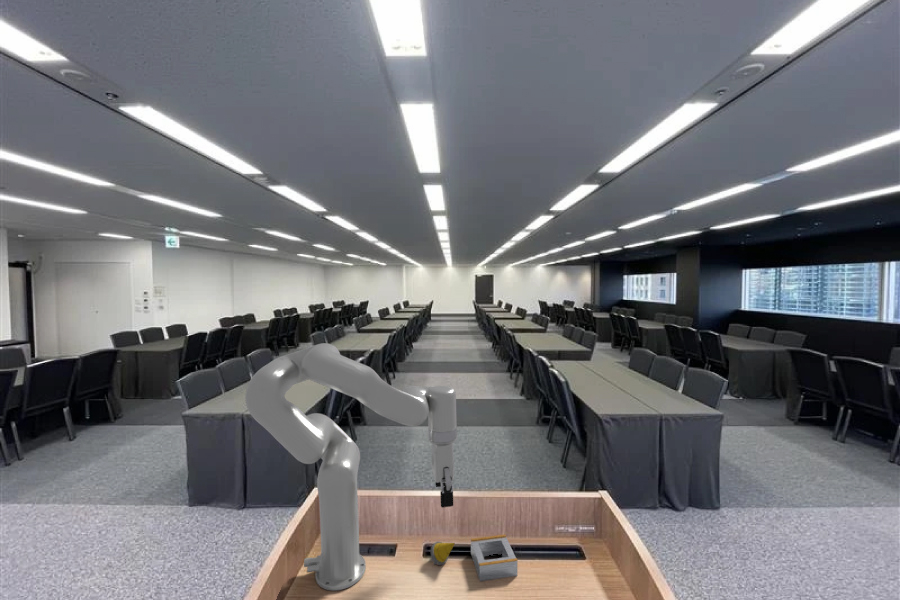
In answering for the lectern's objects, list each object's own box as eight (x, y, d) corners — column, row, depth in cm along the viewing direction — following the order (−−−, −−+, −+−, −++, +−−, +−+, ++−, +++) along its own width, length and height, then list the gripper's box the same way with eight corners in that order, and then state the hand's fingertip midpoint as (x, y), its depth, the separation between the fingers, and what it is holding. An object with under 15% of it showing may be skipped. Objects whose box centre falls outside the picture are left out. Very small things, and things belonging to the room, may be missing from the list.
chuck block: (479, 581, 99) (479, 564, 98) (470, 553, 109) (470, 538, 108) (517, 575, 100) (517, 559, 100) (505, 548, 110) (505, 534, 110)
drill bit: (440, 551, 110) (463, 537, 106) (438, 572, 105) (462, 558, 101) (425, 543, 109) (447, 528, 105) (422, 564, 104) (445, 549, 100)
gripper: (425, 422, 111) (426, 480, 112) (432, 449, 94) (434, 517, 95) (450, 420, 113) (452, 477, 114) (463, 446, 96) (464, 513, 97)
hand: (444, 495), depth 105 cm, fingers open, 9 cm apart
